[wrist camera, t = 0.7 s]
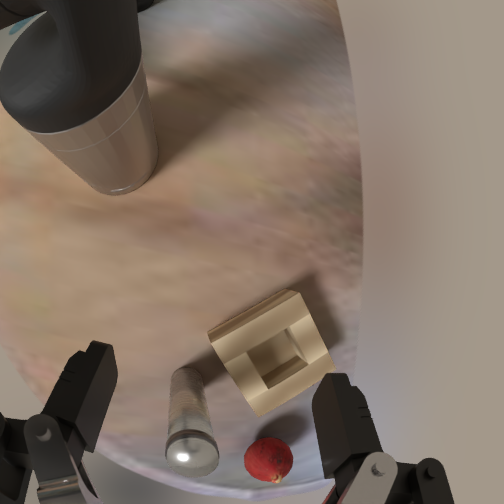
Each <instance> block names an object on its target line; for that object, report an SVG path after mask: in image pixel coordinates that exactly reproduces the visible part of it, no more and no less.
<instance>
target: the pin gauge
mask: <svg viewBox="0 0 504 504" xmlns="http://www.w3.org/2000/svg"><path fill="white" fill-rule="evenodd" d="M165 456H166V460H167V463H168V465H169V467H170V468H171V469H172V470H173V471H174V472H176V473H177V474H179V475H182V476H185V477H191V478H196V477H203V476H206V475H208V474H210V473H212V472H213V471H214V470H215V469H216V467H217V466H218V463H219V451H218V447H217V444H216V441H215V440H214V436H213V431H212V426H211V422H210V417H209V412H208V407H207V402H206V397H205V392H204V386H203V381H202V377H201V375H200V374H199V372H198V371H196V370H195V369H193V368H189V367H182V368H179V369H177V370H176V371H175V372H174V373H173V375H172V377H171V386H170V400H169V416H168V436H167V442H166V451H165Z"/></svg>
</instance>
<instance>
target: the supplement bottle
mask: <svg viewBox="0 0 504 504" xmlns="http://www.w3.org/2000/svg"><path fill="white" fill-rule="evenodd" d="M136 2H137V12H140V11H142V10H145V9H146V8H148V7H149V6H150V5H151V4H152V3H153V2H154V0H136Z"/></svg>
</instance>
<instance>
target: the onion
mask: <svg viewBox="0 0 504 504" xmlns="http://www.w3.org/2000/svg"><path fill="white" fill-rule="evenodd" d="M244 463H245V468H246V469H247V471H248V472H249V473H250V475H251V476H253V477H254V478H257V479H259V480H261V481H268V482H271V481H272V482H273V483H278V482H281V480H282V478H283V477H285V476H286V475H287V474H288V473H289V471H290V470H291V468H292V464H293V455H292V453H291V450H290V448H289V446H288V445H287V444H285V443H284V442H283V441H282V440H280V439H276V438H271V437H267V438H261V439H259V440H257V441H255V442H254V443H253V444H252V445H251V446H249V448H248V449H247V451H246V453H245V455H244Z"/></svg>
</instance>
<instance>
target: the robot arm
mask: <svg viewBox="0 0 504 504" xmlns="http://www.w3.org/2000/svg"><path fill="white" fill-rule="evenodd" d="M44 11H47V12H46V13H45V14H43V15H42V16H41V17H39V18H38V19H37V20H36V21H35V22H33V23H32V24H31V25H30V26H29V27H28V28H27V29H26V30H25V31H24V32H23V33H22V34H21V35H20V36H19V38H18V39H17V40H16V41H15V43H14V44H13V46H12V47H11V49H10V50H9V52H8V53H7V55H6V57H5V59H4V62H3V64H2V67H1V70H0V100H1V103H2V105H3V107H4V108H5V110H6V111H7V112H8V113H9V114H10V115H11V116H12V117H13V118H14V119H15V120H16V121H17V122H18V123H19V124H20V125H21V126H22V127H23V128H24V129H26V130H27V131H28V132H29V133H30V134H31V135H32V136H33V137H34V138H35V139H37V140H38V141H39V142H40V143H41V144H43V145H44V146H45V147H46V148H47V149H48V150H49V151H50V152H52V153H53V154H54V155H55V156H56V157H57V158H58V159H60V160H61V161H62V162H63V163H64V164H65V165H67V166H68V167H69V168H70V169H71V170H72V171H74V172H75V173H76V174H77V175H78V176H79V177H81V178H82V179H83V180H84V181H85V182H86V183H88V184H89V185H90V186H91V187H92V188H94V189H95V190H97V191H99V192H100V193H103V194H107V195H122V194H126V193H129V192H131V191H134V190H135V189H137V188H138V187H140V186H141V185H142V184H143V183H144V182H145V181H146V180H147V179H148V178H149V177H150V175H151V174H152V172H153V170H154V168H155V166H156V163H157V159H158V146H157V140H156V135H155V128H154V123H153V118H152V112H151V106H150V100H149V94H148V88H147V82H146V75H145V70H144V63H143V56H142V49H141V41H140V34H139V25H138V15H137V2H136V0H0V30H1V29H3V28H5V27H8V26H10V25H12V24H14V23H17V22H19V21H21V20H24V19H26V18H29V17H31V16H34V15H36V14H39V13H41V12H44ZM117 378H118V370H117V365H116V360H115V355H114V350H113V346H112V345H111V344H106V343H102V342H98V341H94V340H93V341H92V342H91V343H90V345H89V347H88V349H87V350H86V352H83V351H78V352H77V353H75V354H74V355H73V356H72V357H70V358H69V360H68V362H67V364H66V365H65V367H64V371H62V373H61V375H60V377H59V380H58V381H57V383H56V385H55V387H54V389H53V391H52V393H51V395H50V397H49V399H48V401H47V403H46V405H45V407H44V409H43V411H42V412H41V413H40V414H37V415H34V416H32V417H30V418H29V419H28V420H19V419H11V418H5V417H4V416H3V415H2V414H1V412H0V504H24V502H25V497H26V493H27V489H28V485H29V481H30V477H31V473H32V470H34V471H35V474H36V478H37V480H38V484H39V488H38V489H37V496H38V499H39V502H40V504H104V503H103V502H102V500H101V498H100V497H99V495H98V493H97V491H96V489H95V487H94V485H93V483H92V481H91V478H90V476H89V474H88V472H87V470H86V468H85V466H84V463H83V461H82V456H83V453H84V450H85V451H88V452H91V453H93V452H94V449H95V446H96V443H97V439H98V436H99V433H100V430H101V427H102V424H103V421H104V418H105V415H106V412H107V409H108V406H109V403H110V401H111V398H112V395H113V392H114V389H115V387H116V383H117ZM312 412H313V417H314V423H315V428H316V433H317V439H318V444H319V450H320V455H321V461H322V466H323V472H324V478H325V479H330V478H335V485H334V486H333V488H332V489H331V491H330V492H329V494H328V496H327V497H326V499H325V500H324V502H323V503H322V504H454V500H453V497H452V493H451V490H450V486H449V483H448V480H447V476H446V473H445V470H444V467H443V465H442V464H441V463H440V462H439V461H438V460H436V459H434V458H426V459H423V460H422V461H421V462H419V463H418V464H409V463H400V462H396V461H395V460H394V459H393V458H392V457H391V456H390V455H388V454H386V453H384V452H383V450H382V447H381V445H380V441H379V438H378V435H377V432H376V429H375V426H374V423H373V420H372V418H371V414H370V411H369V409H368V405H367V402H366V399H365V396H364V395H363V393H362V392H361V391H360V390H359V389H358V388H357V386H351V385H350V382H349V379H348V376H347V374H345V373H326V374H325V375H324V377H323V379H322V381H321V383H320V385H319V387H318V389H317V390H316V392H315V394H314V396H313V400H312Z"/></svg>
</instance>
